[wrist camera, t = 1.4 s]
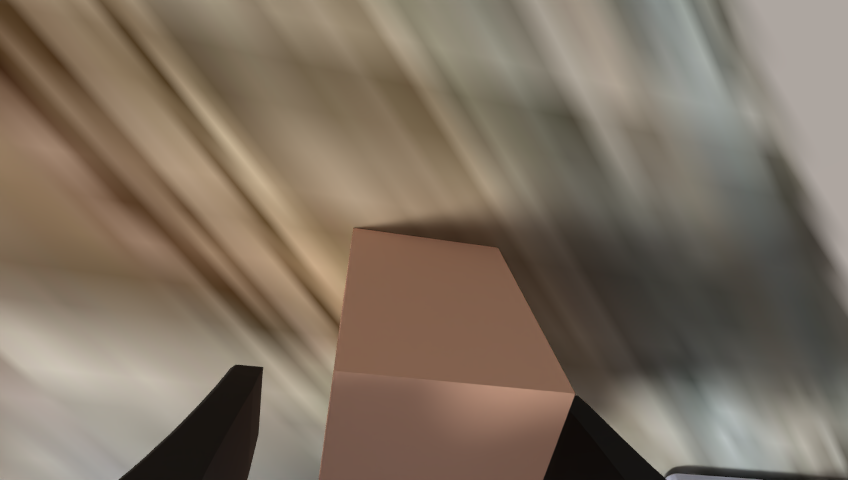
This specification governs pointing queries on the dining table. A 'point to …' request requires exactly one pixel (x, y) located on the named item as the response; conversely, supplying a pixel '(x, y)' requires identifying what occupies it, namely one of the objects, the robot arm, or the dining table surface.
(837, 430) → the dining table surface
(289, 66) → the dining table surface
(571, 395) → the key block
